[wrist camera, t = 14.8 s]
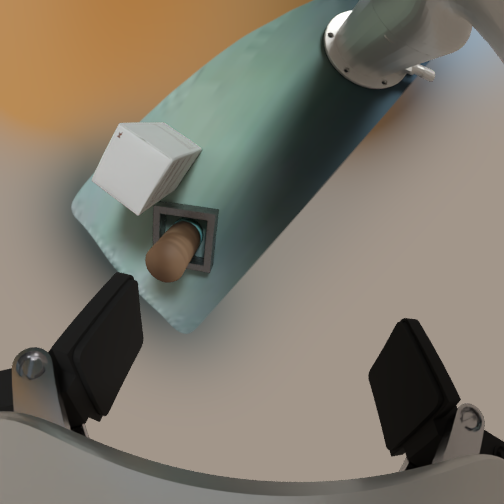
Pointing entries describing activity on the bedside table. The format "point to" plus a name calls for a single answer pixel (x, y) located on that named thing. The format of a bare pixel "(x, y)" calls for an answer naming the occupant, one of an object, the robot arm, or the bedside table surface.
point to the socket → (190, 212)
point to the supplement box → (144, 164)
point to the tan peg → (174, 250)
